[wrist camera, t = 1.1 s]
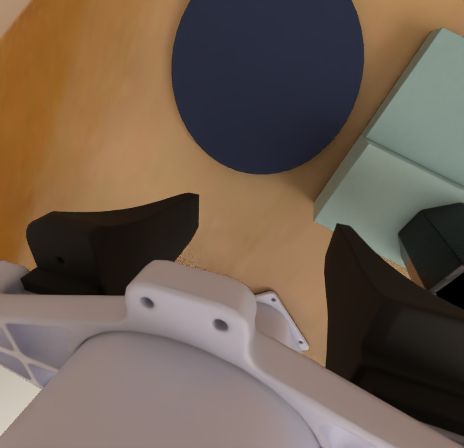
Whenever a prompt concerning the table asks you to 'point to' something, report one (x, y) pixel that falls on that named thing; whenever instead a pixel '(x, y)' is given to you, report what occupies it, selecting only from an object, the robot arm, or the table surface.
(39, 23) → the table surface
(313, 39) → the navy mat
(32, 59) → the table surface
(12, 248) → the table surface
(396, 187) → the shelf riser
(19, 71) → the table surface
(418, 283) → the pen cup
